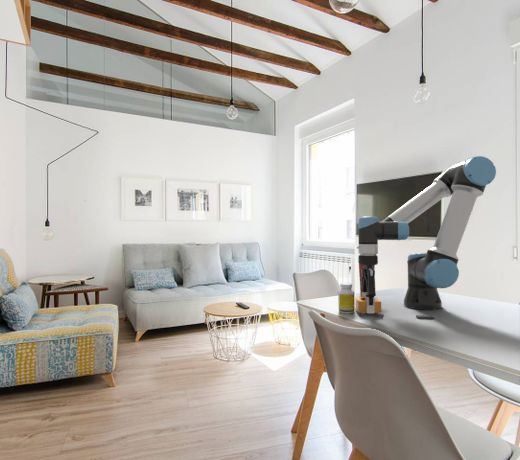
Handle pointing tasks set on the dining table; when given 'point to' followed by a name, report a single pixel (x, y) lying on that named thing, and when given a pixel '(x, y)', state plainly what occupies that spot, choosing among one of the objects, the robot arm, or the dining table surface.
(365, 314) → the keeper
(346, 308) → the pill bottle
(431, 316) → the grey rectangular block
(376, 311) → the square wooden frame
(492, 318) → the dining table surface
